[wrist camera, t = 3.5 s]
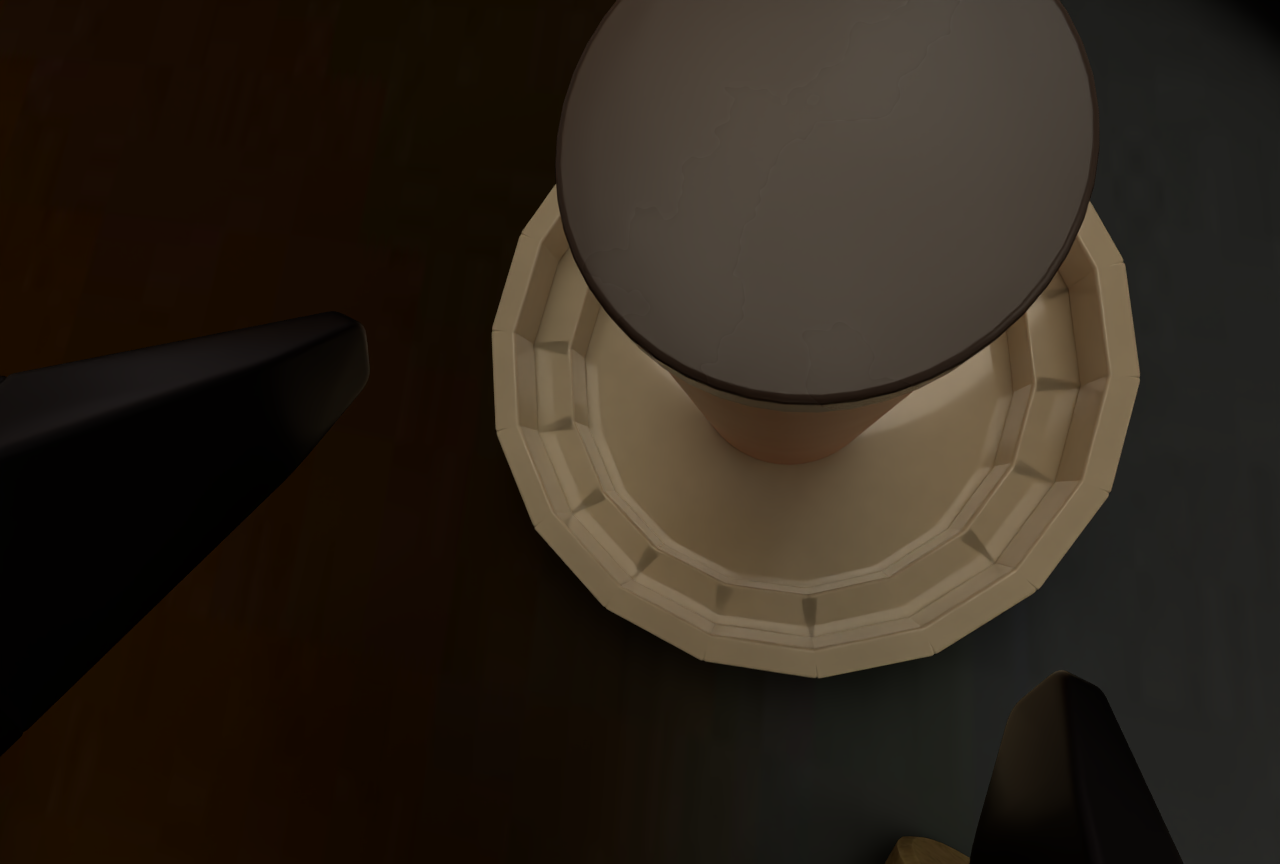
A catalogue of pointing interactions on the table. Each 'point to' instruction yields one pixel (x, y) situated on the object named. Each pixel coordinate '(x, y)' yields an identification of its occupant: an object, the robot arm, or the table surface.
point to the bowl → (813, 475)
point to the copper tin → (823, 195)
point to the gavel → (924, 852)
